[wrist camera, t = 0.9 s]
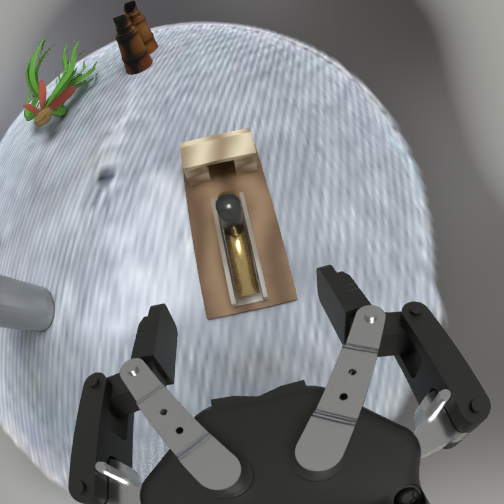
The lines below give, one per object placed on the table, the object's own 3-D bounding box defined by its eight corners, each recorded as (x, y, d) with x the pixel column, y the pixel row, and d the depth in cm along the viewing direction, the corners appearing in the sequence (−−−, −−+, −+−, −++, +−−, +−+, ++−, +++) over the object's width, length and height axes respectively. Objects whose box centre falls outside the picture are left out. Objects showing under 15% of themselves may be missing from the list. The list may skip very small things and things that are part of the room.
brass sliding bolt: (238, 298, 40) (231, 289, 30) (218, 202, 44) (207, 167, 34) (259, 293, 40) (259, 282, 30) (237, 197, 44) (231, 161, 34)
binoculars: (149, 70, 59) (129, 15, 39) (123, 77, 59) (99, 26, 39) (159, 41, 63) (145, -6, 44) (136, 47, 63) (119, 3, 44)
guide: (208, 319, 41) (199, 318, 35) (183, 163, 49) (174, 143, 42) (296, 299, 42) (303, 294, 35) (255, 147, 49) (254, 124, 43)
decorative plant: (46, 161, 59) (53, 102, 65) (106, 109, 55) (105, 59, 62) (-17, 126, 33) (8, 69, 40) (44, 54, 30) (63, 14, 37)
